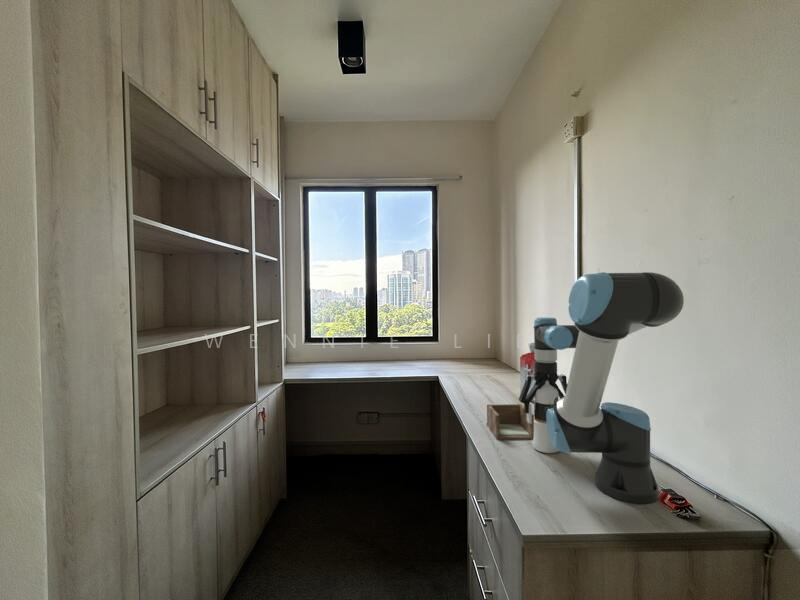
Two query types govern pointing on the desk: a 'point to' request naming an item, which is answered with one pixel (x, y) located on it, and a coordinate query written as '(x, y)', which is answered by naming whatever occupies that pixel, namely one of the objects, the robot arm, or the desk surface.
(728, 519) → the desk surface
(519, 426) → the wooden box
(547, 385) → the vodka
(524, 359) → the bottle
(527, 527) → the desk surface
